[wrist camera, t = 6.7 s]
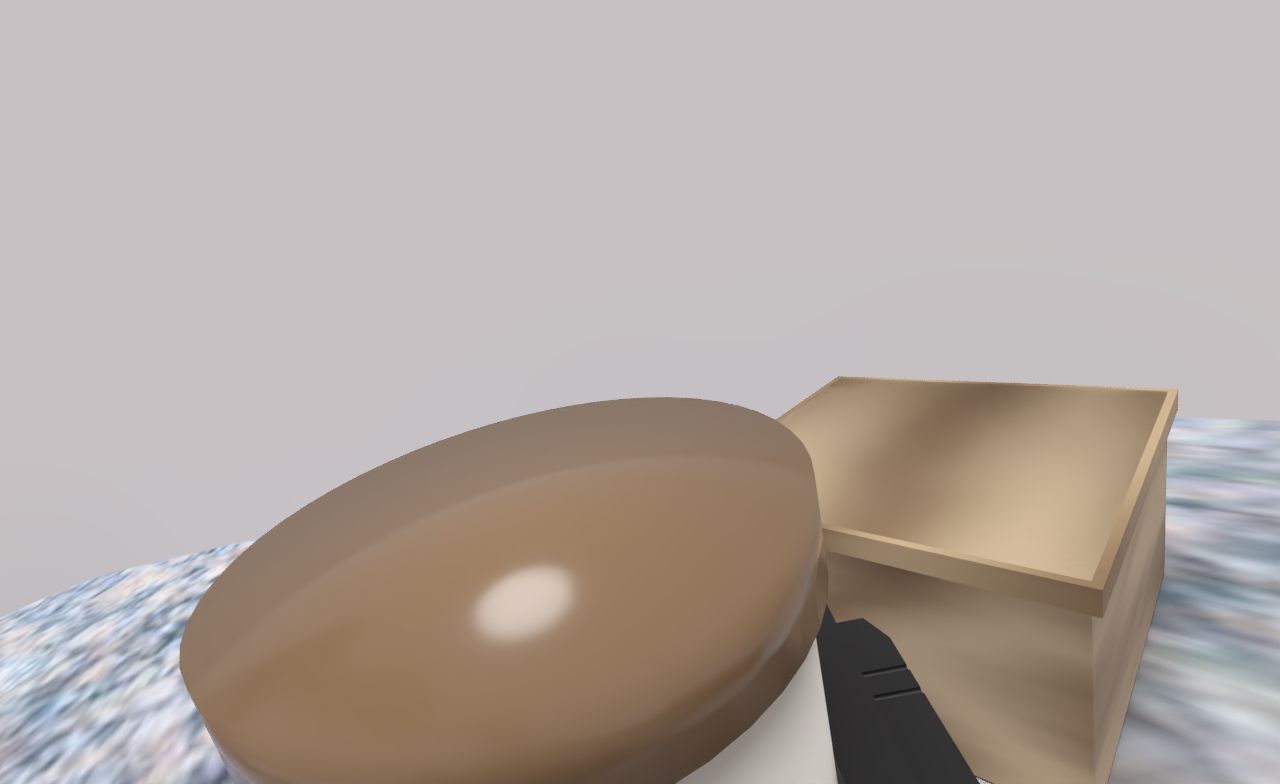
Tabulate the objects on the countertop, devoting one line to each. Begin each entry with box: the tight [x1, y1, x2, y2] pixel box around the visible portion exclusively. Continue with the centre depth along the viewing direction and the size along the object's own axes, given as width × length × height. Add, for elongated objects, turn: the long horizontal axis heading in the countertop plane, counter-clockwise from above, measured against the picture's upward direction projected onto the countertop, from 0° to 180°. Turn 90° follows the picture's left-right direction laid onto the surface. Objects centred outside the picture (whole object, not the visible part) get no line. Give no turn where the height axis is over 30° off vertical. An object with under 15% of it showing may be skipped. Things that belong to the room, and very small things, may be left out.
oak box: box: [776, 377, 1178, 784], centre depth 19 cm, size 10×10×6 cm
